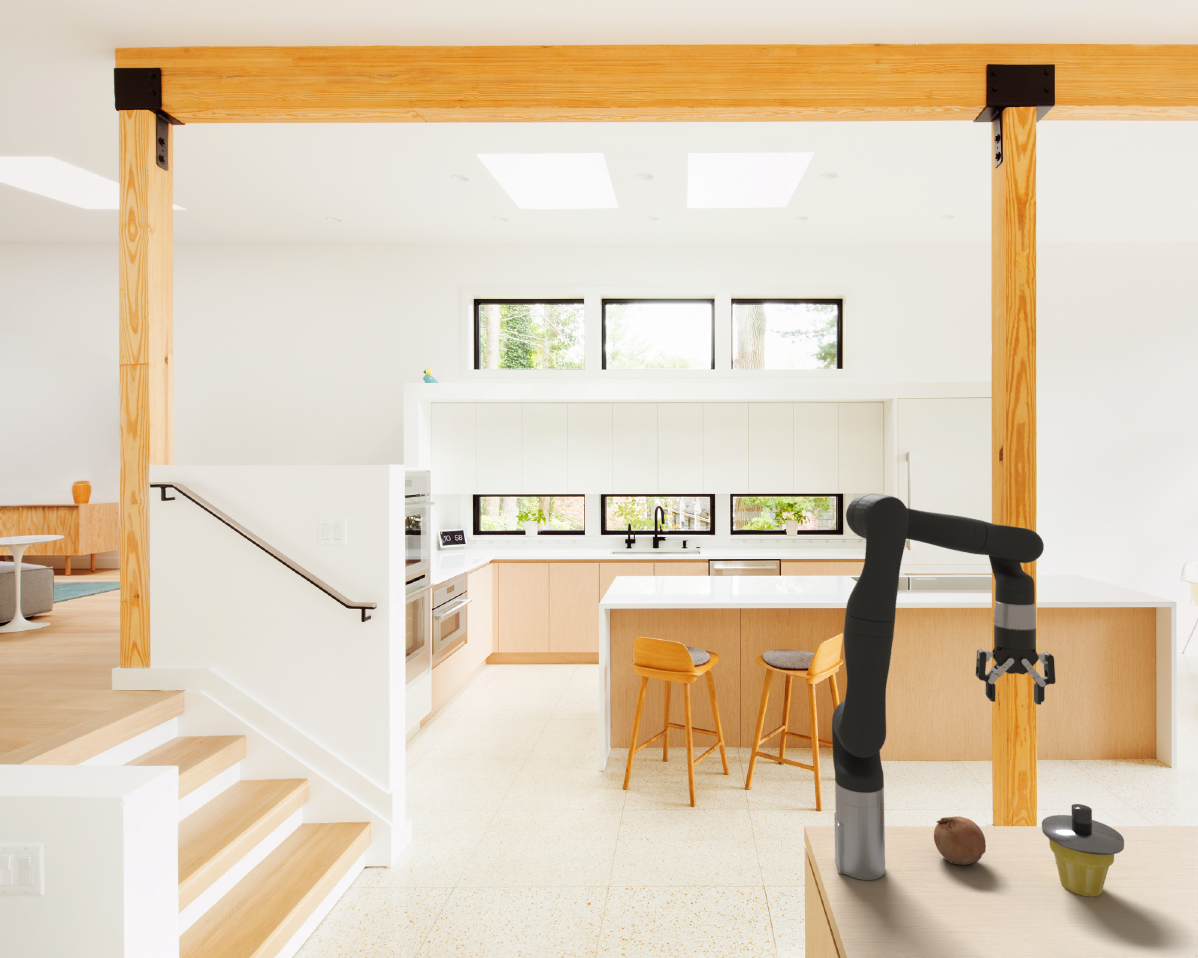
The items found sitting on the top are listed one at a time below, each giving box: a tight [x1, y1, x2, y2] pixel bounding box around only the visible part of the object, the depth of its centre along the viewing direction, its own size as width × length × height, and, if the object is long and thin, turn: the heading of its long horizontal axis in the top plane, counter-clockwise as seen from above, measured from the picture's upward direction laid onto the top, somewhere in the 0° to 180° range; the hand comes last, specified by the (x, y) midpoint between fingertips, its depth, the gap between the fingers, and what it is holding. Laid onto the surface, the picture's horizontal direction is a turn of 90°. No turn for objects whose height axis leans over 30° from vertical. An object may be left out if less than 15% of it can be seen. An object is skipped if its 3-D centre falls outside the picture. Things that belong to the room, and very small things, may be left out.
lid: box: [1041, 803, 1125, 855], centre depth 138 cm, size 13×13×6 cm
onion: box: [933, 816, 987, 865], centre depth 148 cm, size 10×9×10 cm
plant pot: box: [1048, 838, 1115, 897], centre depth 139 cm, size 10×10×10 cm
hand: (1014, 701), depth 151 cm, fingers open, 8 cm apart
